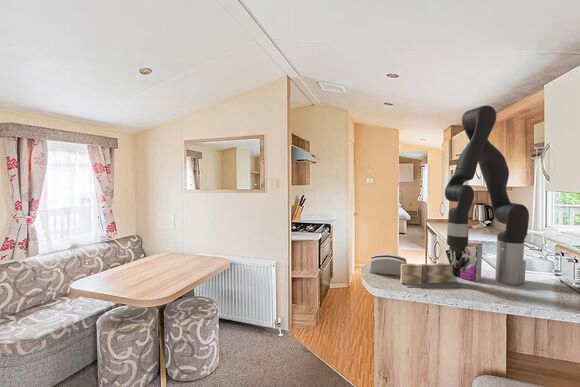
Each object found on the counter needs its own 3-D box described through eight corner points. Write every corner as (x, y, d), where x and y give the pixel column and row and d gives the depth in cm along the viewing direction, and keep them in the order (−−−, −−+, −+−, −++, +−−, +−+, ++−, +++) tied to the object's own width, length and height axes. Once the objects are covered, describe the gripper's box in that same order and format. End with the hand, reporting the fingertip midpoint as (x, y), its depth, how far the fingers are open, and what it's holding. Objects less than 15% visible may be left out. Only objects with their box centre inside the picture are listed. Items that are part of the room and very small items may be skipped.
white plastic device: (408, 272, 140) (408, 253, 136) (408, 278, 136) (408, 260, 132) (370, 268, 146) (369, 251, 142) (369, 275, 142) (368, 257, 138)
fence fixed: (425, 283, 128) (425, 264, 127) (427, 284, 126) (427, 265, 125) (400, 282, 128) (400, 263, 128) (401, 284, 126) (402, 265, 126)
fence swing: (454, 280, 130) (454, 262, 129) (457, 281, 128) (457, 263, 127) (425, 281, 128) (426, 263, 127) (427, 283, 126) (428, 265, 126)
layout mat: (442, 271, 142) (442, 270, 142) (465, 287, 122) (465, 287, 122) (392, 271, 143) (392, 270, 143) (407, 287, 123) (407, 286, 123)
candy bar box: (449, 275, 137) (450, 239, 136) (455, 273, 140) (456, 237, 139) (475, 282, 128) (477, 244, 127) (481, 280, 131) (483, 242, 130)
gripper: (477, 237, 117) (475, 281, 118) (456, 230, 130) (455, 270, 131) (458, 237, 116) (457, 282, 118) (439, 231, 130) (438, 271, 131)
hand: (456, 276), depth 124 cm, fingers closed
